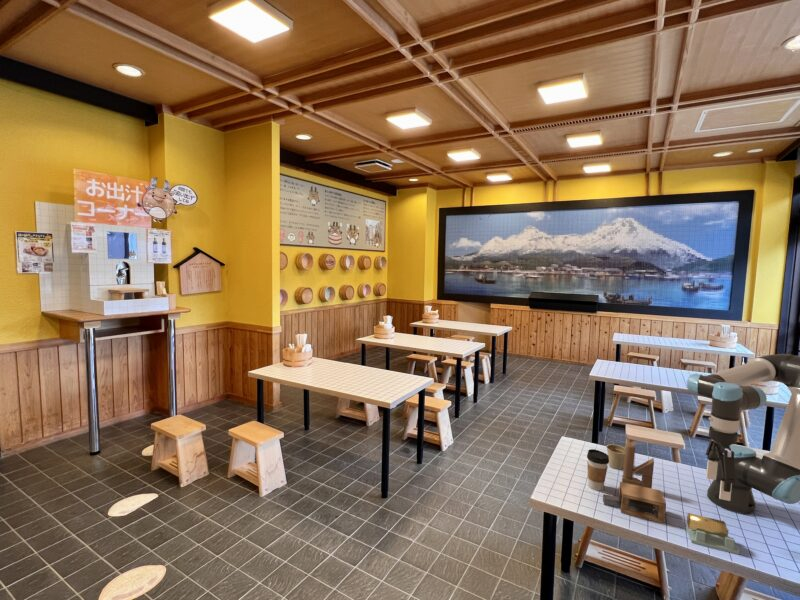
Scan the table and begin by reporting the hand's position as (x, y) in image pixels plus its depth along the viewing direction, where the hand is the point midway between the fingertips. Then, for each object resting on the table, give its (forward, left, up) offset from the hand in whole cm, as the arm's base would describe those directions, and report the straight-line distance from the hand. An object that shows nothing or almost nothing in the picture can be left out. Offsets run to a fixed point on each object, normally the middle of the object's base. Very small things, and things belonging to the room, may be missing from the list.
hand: (717, 488), depth 136 cm
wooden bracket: (+19, -27, -19) cm, 38 cm away
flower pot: (+25, -44, -19) cm, 54 cm away
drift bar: (+25, -9, -20) cm, 33 cm away
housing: (+20, -9, -19) cm, 29 cm away
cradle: (0, 0, -19) cm, 19 cm away
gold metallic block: (+2, 0, -14) cm, 14 cm away
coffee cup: (+35, -20, -19) cm, 45 cm away
